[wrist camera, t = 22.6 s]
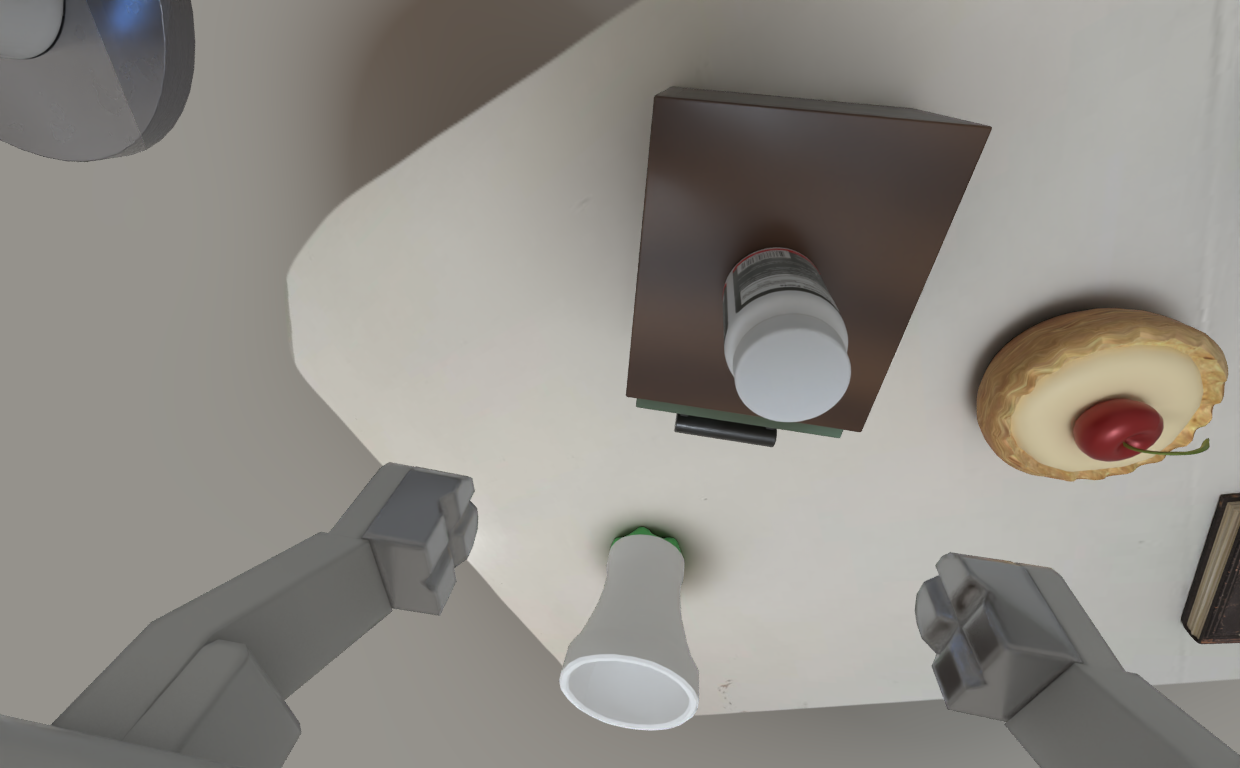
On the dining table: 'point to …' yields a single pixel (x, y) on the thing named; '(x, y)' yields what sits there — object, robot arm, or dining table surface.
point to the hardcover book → (1217, 581)
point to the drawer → (732, 424)
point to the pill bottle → (784, 336)
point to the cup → (635, 641)
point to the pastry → (1099, 393)
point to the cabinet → (788, 228)
